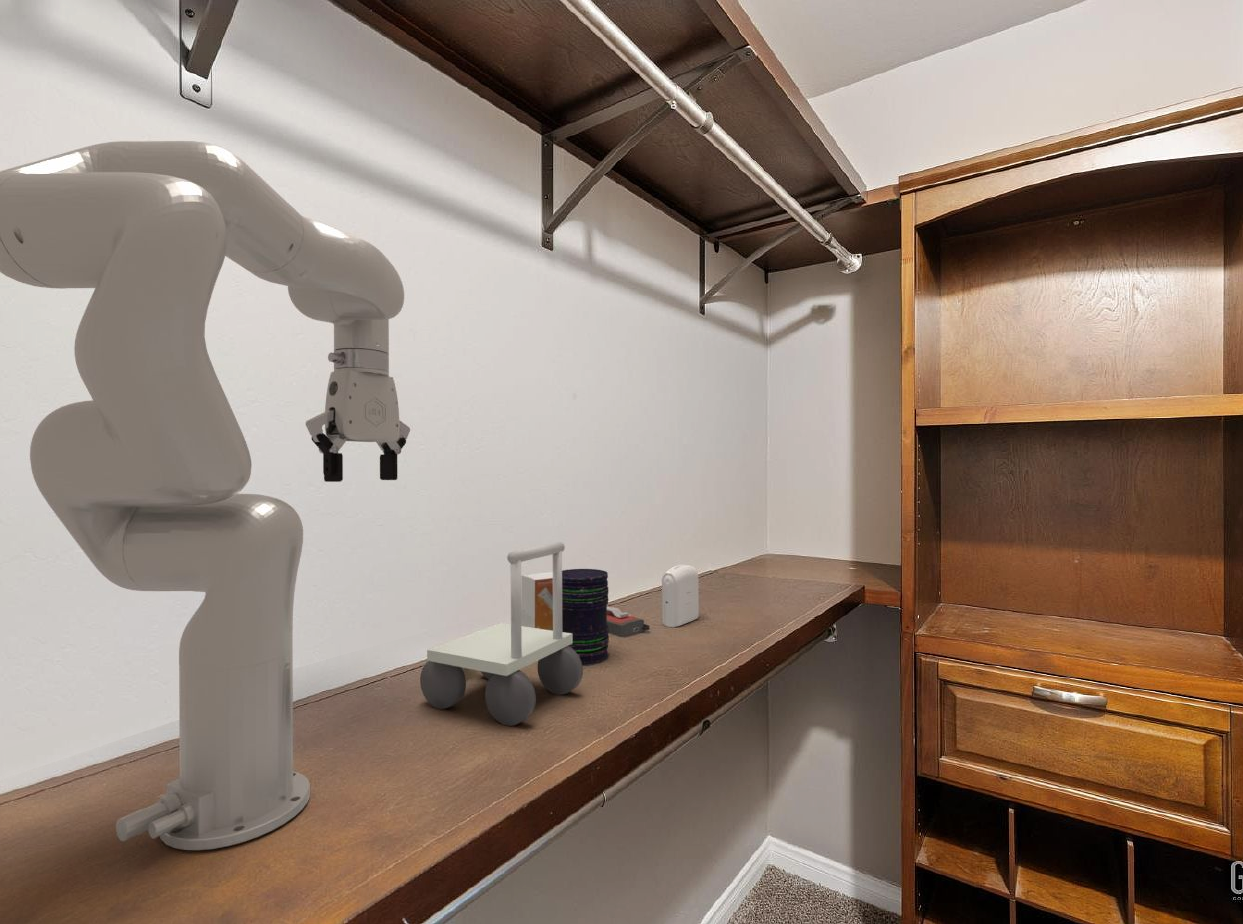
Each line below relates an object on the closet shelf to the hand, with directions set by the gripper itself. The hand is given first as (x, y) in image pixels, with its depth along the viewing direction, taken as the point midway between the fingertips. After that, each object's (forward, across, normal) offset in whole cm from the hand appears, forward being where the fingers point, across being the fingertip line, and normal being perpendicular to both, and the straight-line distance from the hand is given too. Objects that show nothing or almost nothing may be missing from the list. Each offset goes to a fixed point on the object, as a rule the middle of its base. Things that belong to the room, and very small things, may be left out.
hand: (362, 480), depth 90 cm
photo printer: (+32, +61, -26) cm, 74 cm away
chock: (+32, +14, -6) cm, 36 cm away
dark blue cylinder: (+32, +31, -19) cm, 49 cm away
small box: (+32, +36, -8) cm, 49 cm away
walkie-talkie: (+33, +52, -13) cm, 63 cm away
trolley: (+32, +9, -19) cm, 38 cm away
